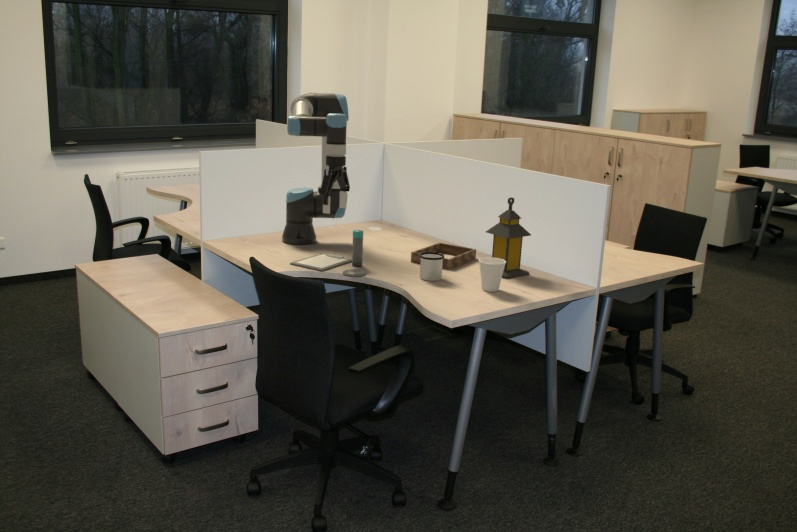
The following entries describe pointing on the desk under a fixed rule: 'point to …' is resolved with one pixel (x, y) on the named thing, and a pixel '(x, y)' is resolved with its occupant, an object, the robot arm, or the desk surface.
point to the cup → (491, 273)
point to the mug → (431, 266)
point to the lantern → (509, 242)
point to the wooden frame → (460, 252)
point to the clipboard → (322, 262)
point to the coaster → (354, 272)
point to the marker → (357, 248)
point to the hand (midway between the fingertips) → (334, 210)
